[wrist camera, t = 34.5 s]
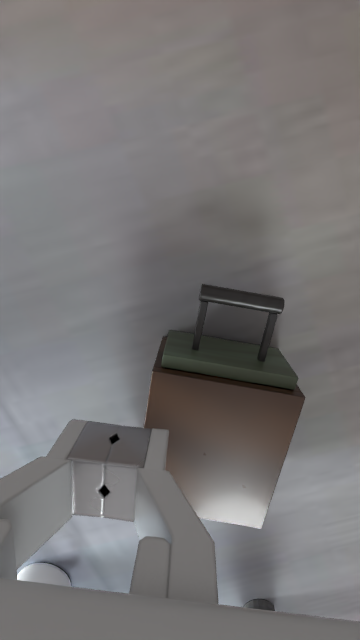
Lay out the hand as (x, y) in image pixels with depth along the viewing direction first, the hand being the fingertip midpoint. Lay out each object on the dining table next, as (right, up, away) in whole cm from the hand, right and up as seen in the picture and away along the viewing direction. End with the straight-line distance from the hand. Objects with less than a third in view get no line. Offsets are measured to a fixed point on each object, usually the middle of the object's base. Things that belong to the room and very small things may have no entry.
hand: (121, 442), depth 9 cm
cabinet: (+5, -6, +25) cm, 26 cm away
